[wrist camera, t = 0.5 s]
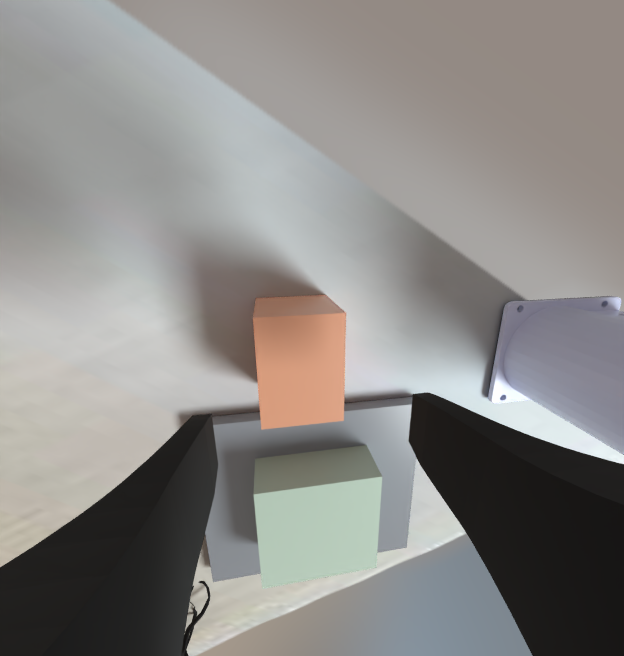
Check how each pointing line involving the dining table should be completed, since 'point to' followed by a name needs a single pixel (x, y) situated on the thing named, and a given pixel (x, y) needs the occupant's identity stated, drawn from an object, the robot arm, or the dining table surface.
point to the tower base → (299, 438)
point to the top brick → (299, 360)
